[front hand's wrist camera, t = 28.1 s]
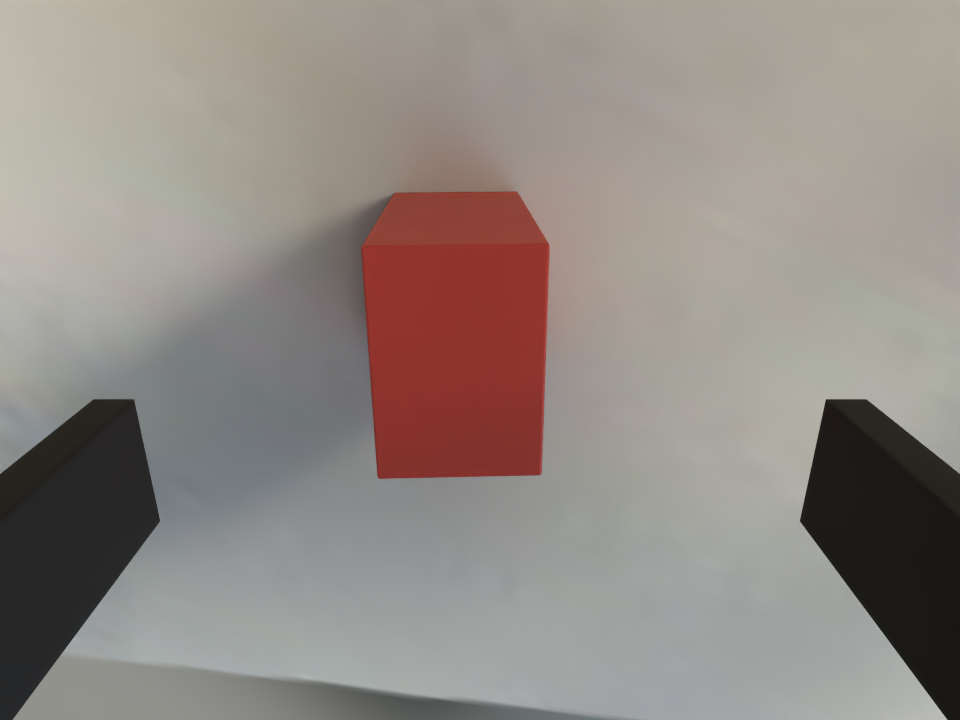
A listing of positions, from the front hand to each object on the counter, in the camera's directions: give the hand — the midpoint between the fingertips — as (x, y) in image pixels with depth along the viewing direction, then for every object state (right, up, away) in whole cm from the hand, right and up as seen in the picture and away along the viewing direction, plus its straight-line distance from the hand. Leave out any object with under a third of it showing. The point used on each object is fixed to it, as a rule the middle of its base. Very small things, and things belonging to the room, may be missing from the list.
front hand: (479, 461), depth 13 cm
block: (-1, +5, +13) cm, 14 cm away
